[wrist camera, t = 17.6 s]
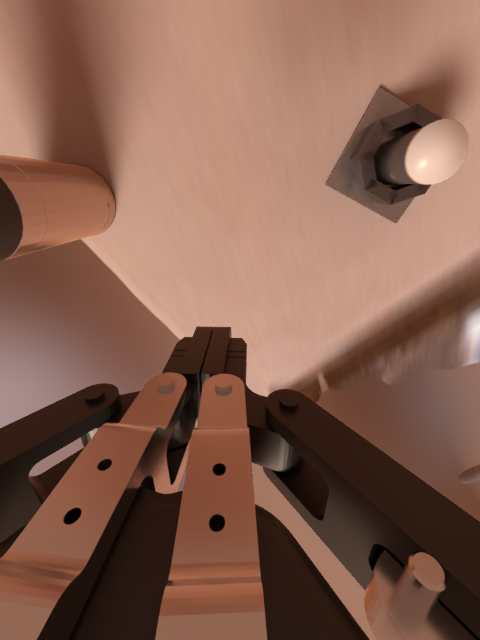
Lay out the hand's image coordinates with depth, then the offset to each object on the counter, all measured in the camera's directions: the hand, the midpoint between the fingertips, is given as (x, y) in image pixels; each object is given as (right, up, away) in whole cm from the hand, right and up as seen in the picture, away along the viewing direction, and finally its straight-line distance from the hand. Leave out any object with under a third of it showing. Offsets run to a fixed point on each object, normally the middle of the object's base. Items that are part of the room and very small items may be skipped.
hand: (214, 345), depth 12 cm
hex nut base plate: (+20, +21, +23) cm, 37 cm away
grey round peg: (+20, +21, +22) cm, 36 cm away
